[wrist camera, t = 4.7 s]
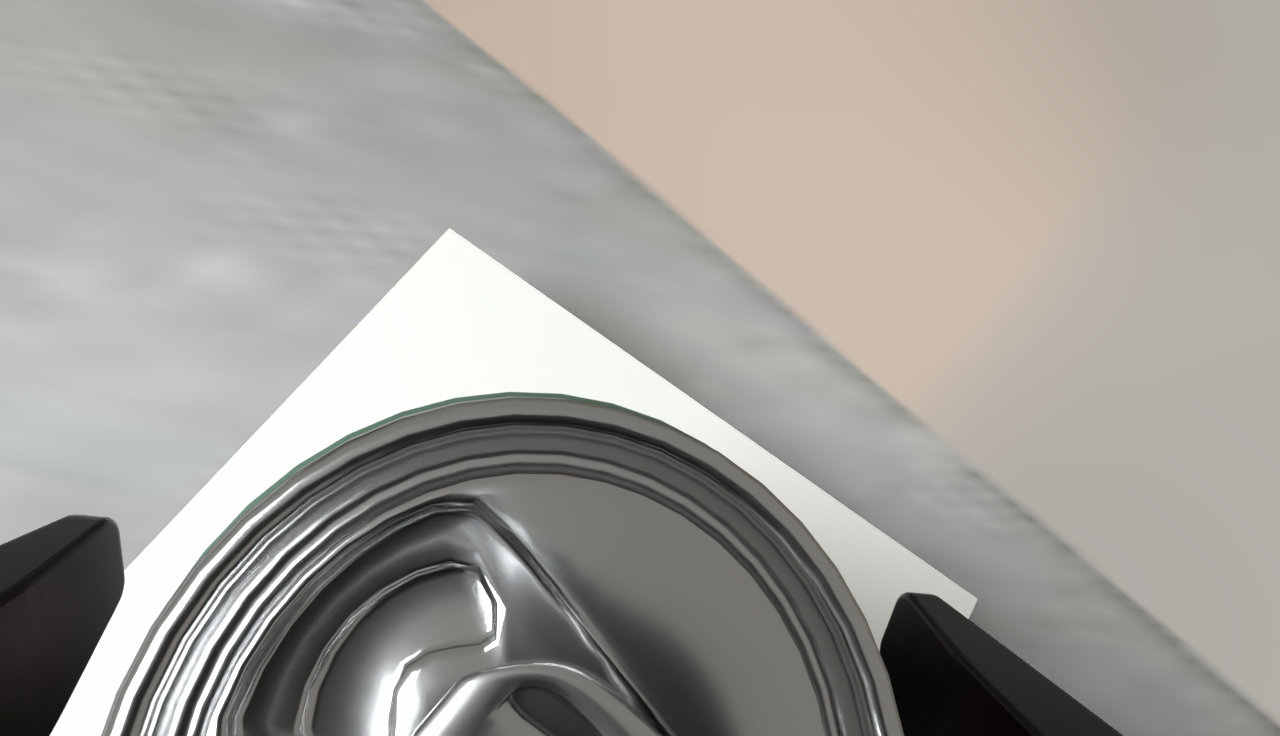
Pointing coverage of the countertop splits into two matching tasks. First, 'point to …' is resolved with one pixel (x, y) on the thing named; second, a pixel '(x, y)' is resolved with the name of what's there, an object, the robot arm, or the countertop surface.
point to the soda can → (511, 593)
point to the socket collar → (458, 367)
